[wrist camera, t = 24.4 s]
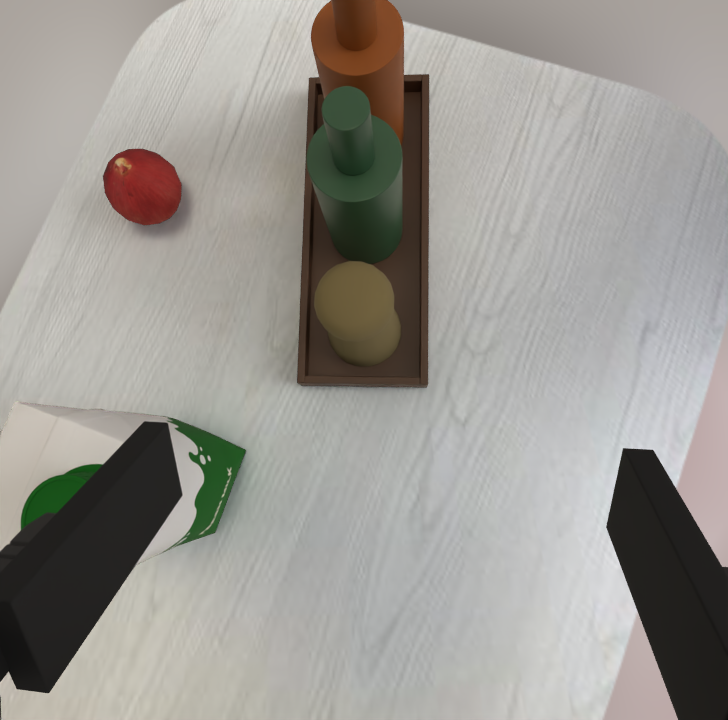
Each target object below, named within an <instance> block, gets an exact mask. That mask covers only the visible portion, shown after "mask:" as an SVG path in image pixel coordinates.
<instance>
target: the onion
mask: <svg viewBox="0 0 728 720" xmlns="http://www.w3.org/2000/svg"><path fill="white" fill-rule="evenodd" d="M103 180H104V188H105V194H106V196H107V198H108V200H109V202H110V203H111V205H112V207H113V209H115V210H116V211H117V212H118V213H119V214H121V215H122V216H123V217H124V218H126V219H127V220H129V221H132V222H135V223H138V224H142V225H151V224H158V223H161V222H163V221H165V220H167V219H169V218H170V217H171V216H172V215H173V214H174V213H175V212H176V211H177V208H178V206H179V203H180V200H181V182H180V180H179V178H178V175H177V173H176V170H175V168H174V167H173V166H172V165H171V164H170V163H169V162H168V161H166V160H165V159H164V158H163V157H161V156H160V155H159V154H157V153H155V152H151V151H148V150H145V149H128V150H125V151H123V152H121V153H118V154H116V155H115V156H114V157H113V158H112V159H111V160H110V161H109V162H108V164H107V167H106V170H105V172H104V175H103Z"/></svg>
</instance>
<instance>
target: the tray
mask: <svg viewBox="0 0 728 720" xmlns="http://www.w3.org/2000/svg"><path fill="white" fill-rule="evenodd" d="M323 101H324V95H323V91H322V87H321V82H320V78H319V77H316V78H309V91H308V116H307V142H306V157H307V150H308V146H309V144H310V141H311V139H312V137H313V136H314V134H315V133H316V131H317V130H318V129H319V128H320V127H321V126H322V125H323V124H324V120H323V116H322V104H323ZM401 148H402V237H401V240H400V243H399V245H398V247H397V248H396V250H395V251H394V252H393V253H392V254H391V255H390V256H389V257H387V258H386V259H384V260H382V261H380V262H377V263H373V264H370V265H373V266H374V267H376V268H377V269H378V270H380V271H381V272H382V273H384V274H385V276H386V277H387V279H388V280H389V282H390V283H391V286H392V289H393V293H394V309H395V311H396V312H397V314H398V316H399V319H400V323H401V338H400V341H399V344H398V346H397V348H396V350H395V351H394V352H393V354H392V355H391V356H390V357H389V358H388V359H386V360H385V361H383V362H381V363H380V364H377V365H373V366H369V367H362V366H355V365H352V364H349V363H346V362H345V361H344V360H342V359H341V358H340V357H339V356H337V354H336V353H335V351H334V350H333V348H332V347H331V345H330V341H329V337H328V331H327V330H326V329H325V328H324V327H323V325H322V324H321V322H320V321H319V319H318V318H317V314H316V311H315V307H314V300H315V291H316V289H317V286H318V284H319V281H320V280H321V278H322V277H323V276H324V275H325V273H326V272H327V271H328V270H330V269H331V268H333V267H334V266H336V265H337V264H341V263H344V262H348V261H349V260H348V259H346V258H344V257H343V256H342V255H341V254H340V253H339V252H338V251H337V249H336V248H335V246H334V244H333V241H332V238H331V235H330V233H329V230H328V227H327V224H326V221H325V218H324V215H323V213H322V210H321V207H320V204H319V201H318V198H317V195H316V193H315V190H314V187H313V184H312V181H311V178H310V176H309V172H308V169H307V162H306V168H305V194H304V219H303V245H302V271H301V297H300V322H299V348H298V374H297V383H299V384H300V385H302V386H363V387H427V385H428V240H429V74H425V75H404V129H403V142H402V145H401Z"/></svg>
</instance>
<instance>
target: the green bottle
mask: <svg viewBox="0 0 728 720" xmlns="http://www.w3.org/2000/svg"><path fill="white" fill-rule="evenodd" d="M322 116H323V120H324V124H323V125H322V126H321V127H320V128H319V129H318V130H317V131H316V133H315V134H314V136H313V137H312V139H311V141H310V144H309V146H308V150H307V157H306V162H307V169H308V172H309V176H310V178H311V181H312V184H313V187H314V190H315V193H316V195H317V198H318V201H319V204H320V207H321V210H322V213H323V215H324V218H325V221H326V224H327V227H328V230H329V233H330V235H331V238H332V241H333V244H334V246H335V248H336V249H337V251H338V252H339V253H340V254H341V255H342V256H343V257H344V258H346V259H348V260H349V261H362V262H365V263H368V264H373V263H377V262H380V261H382V260H384V259H386V258H387V257H389V256H390V255H391V254H392V253H393V252H394V251H395V250H396V248H397V247H398V245H399V243H400V240H401V237H402V148H401V144H400V141H399V138H398V136H397V135H396V133H395V132H394V130H393V129H392V128H391V127H390V126H389V125H388V124H387V123H386V122H385V121H383V120H382V119H380V118H378V117H376V116H373V115H371V110H370V102H369V100H368V98H367V96H366V95H365V94H364V93H363V92H362V91H361V90H360V89H358V88H355V87H352V86H342V87H339V88H336V89H334V90H332V91H331V92H330V93H329V94H328V95H327V96H326V97H325V99H324V101H323V104H322Z"/></svg>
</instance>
